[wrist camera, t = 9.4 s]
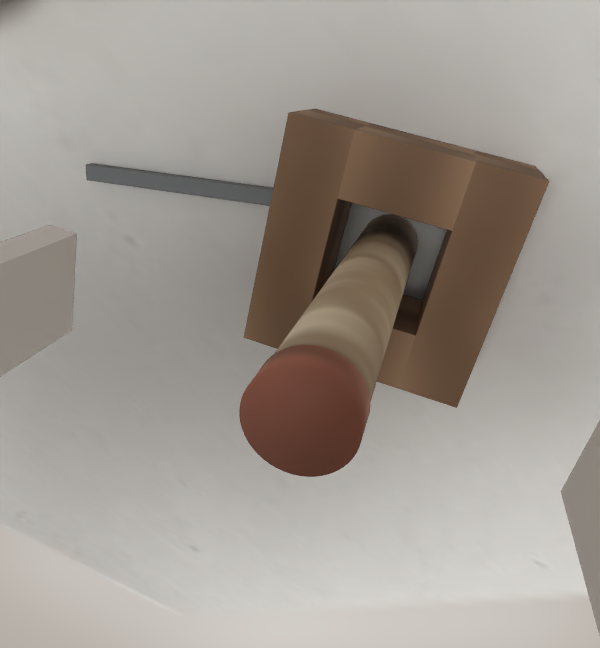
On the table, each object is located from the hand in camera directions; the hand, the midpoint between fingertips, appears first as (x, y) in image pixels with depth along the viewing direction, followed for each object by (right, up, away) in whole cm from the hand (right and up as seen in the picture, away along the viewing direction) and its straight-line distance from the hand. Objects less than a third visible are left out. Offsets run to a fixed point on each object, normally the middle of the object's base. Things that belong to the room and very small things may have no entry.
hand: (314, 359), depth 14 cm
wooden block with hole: (+4, +4, +11) cm, 12 cm away
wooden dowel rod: (+4, +4, +11) cm, 12 cm away
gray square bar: (-5, +7, +12) cm, 15 cm away
